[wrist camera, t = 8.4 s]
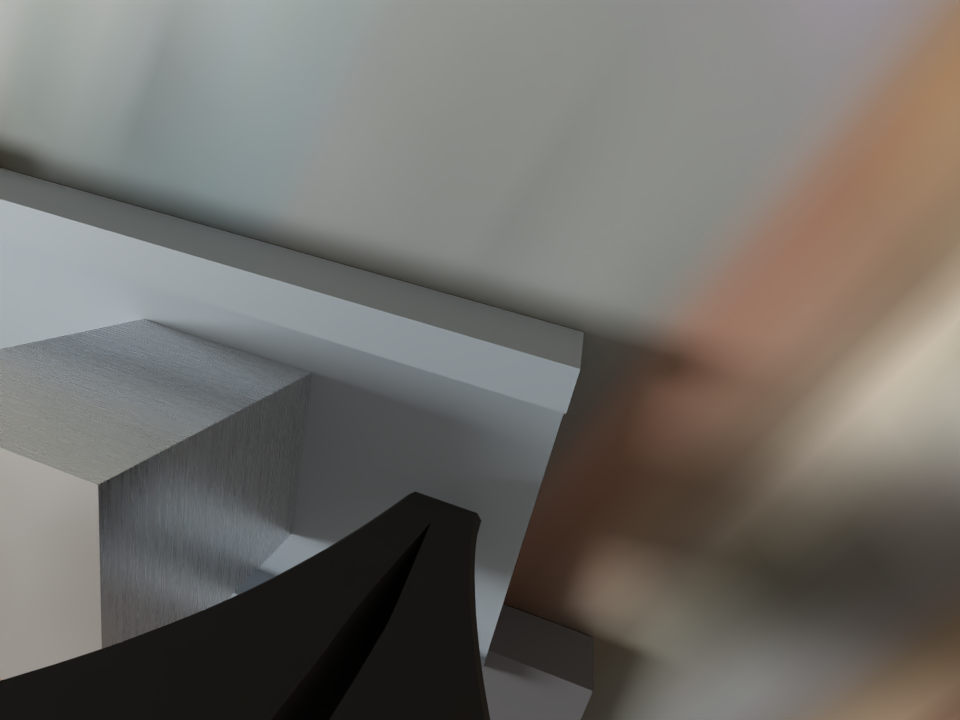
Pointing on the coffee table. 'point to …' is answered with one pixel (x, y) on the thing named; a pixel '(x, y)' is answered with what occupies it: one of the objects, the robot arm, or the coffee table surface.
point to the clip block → (136, 483)
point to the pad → (537, 669)
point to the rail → (317, 362)
